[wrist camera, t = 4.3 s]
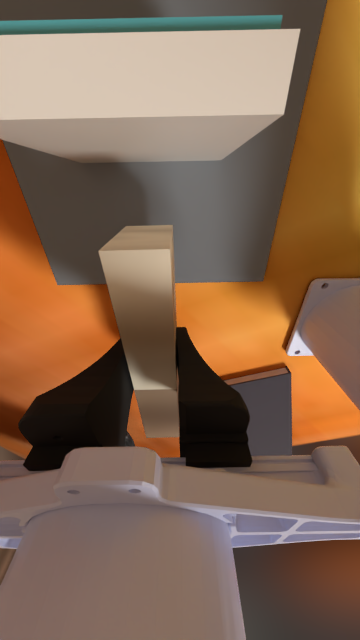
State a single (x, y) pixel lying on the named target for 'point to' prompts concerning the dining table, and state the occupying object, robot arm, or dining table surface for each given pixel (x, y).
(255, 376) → the notebook
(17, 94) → the tile
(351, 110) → the dining table surface
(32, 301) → the dining table surface
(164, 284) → the long wooden beam
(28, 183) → the slate mat
